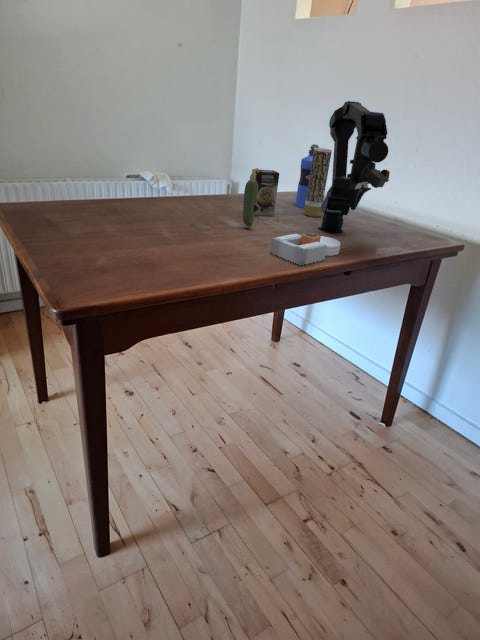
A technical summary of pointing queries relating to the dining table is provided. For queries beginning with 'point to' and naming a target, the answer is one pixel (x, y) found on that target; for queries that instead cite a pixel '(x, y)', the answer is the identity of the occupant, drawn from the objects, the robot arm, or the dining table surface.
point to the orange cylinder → (309, 238)
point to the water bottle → (304, 178)
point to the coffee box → (266, 192)
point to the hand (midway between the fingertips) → (352, 209)
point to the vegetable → (250, 199)
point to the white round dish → (331, 245)
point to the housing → (297, 249)
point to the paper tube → (317, 181)
